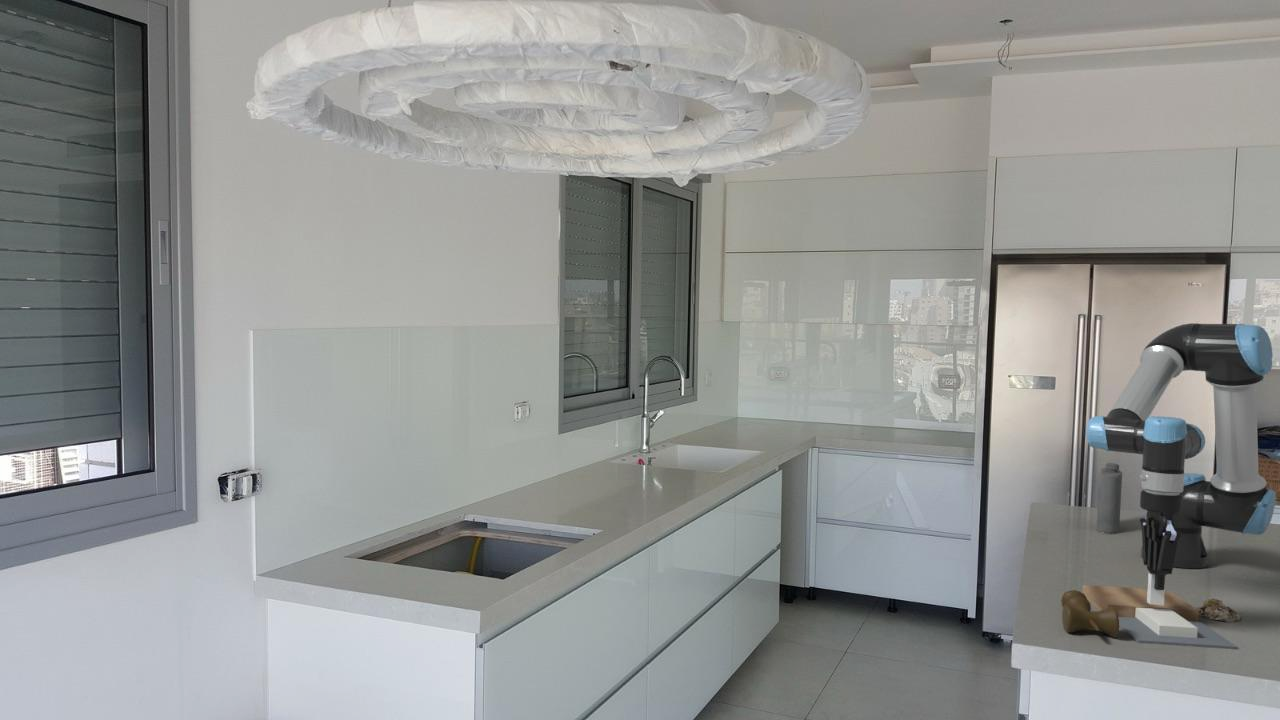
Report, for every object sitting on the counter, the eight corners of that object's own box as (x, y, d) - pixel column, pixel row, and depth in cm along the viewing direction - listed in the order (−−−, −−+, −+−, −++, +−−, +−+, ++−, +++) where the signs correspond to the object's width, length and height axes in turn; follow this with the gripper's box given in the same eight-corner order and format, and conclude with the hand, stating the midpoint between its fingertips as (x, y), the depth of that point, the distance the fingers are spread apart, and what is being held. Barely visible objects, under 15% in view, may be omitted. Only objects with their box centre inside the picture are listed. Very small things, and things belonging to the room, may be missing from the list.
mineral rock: (1246, 616, 182) (1203, 599, 185) (1238, 635, 182) (1195, 618, 186) (1239, 603, 191) (1198, 587, 195) (1232, 621, 192) (1191, 605, 196)
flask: (1118, 535, 259) (1121, 468, 258) (1096, 532, 262) (1099, 466, 261) (1119, 525, 272) (1123, 461, 271) (1098, 523, 275) (1102, 459, 274)
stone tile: (1170, 619, 184) (1171, 609, 184) (1197, 638, 173) (1197, 628, 173) (1135, 616, 185) (1135, 607, 185) (1159, 635, 174) (1159, 625, 174)
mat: (1200, 623, 182) (1200, 622, 182) (1237, 649, 169) (1237, 646, 168) (1109, 618, 185) (1109, 616, 185) (1138, 642, 171) (1138, 640, 171)
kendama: (1098, 616, 187) (1125, 647, 168) (1049, 613, 190) (1071, 643, 170) (1098, 588, 187) (1126, 616, 168) (1049, 585, 189) (1071, 612, 170)
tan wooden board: (1166, 600, 197) (1167, 590, 197) (1198, 622, 183) (1198, 610, 183) (1082, 595, 200) (1082, 584, 199) (1107, 616, 186) (1107, 604, 186)
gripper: (1129, 484, 189) (1123, 592, 190) (1156, 496, 176) (1150, 612, 177) (1166, 486, 188) (1160, 595, 189) (1196, 498, 175) (1189, 615, 176)
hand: (1155, 603), depth 183 cm, fingers closed
